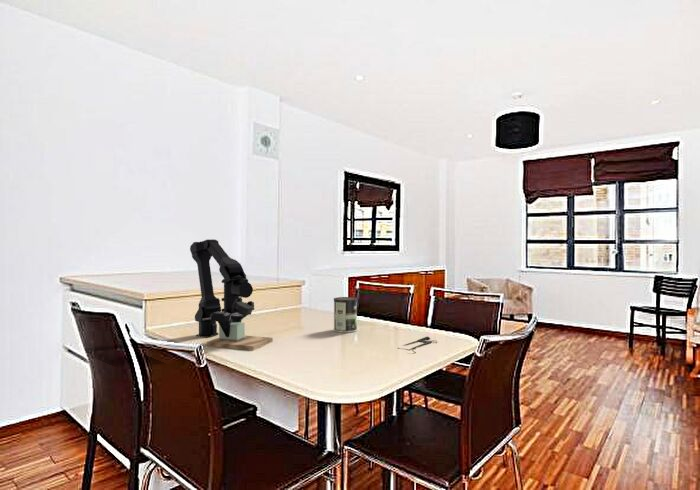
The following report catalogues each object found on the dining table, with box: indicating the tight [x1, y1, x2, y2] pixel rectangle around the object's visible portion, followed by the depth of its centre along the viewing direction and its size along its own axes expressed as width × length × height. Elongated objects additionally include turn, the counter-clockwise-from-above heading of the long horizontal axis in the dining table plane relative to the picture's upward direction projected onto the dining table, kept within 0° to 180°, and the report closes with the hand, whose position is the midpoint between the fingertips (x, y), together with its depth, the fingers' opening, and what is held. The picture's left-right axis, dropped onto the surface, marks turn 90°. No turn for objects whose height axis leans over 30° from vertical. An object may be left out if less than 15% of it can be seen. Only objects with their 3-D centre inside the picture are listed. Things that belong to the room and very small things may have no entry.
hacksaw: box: [397, 336, 437, 355], centre depth 162 cm, size 24×10×2 cm, turn 135°
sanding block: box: [218, 321, 246, 341], centre depth 165 cm, size 8×5×6 cm, turn 71°
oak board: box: [206, 335, 274, 351], centre depth 164 cm, size 20×14×2 cm
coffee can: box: [333, 296, 358, 334], centre depth 189 cm, size 10×10×14 cm
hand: (231, 335), depth 165 cm, fingers closed on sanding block, 5 cm apart
